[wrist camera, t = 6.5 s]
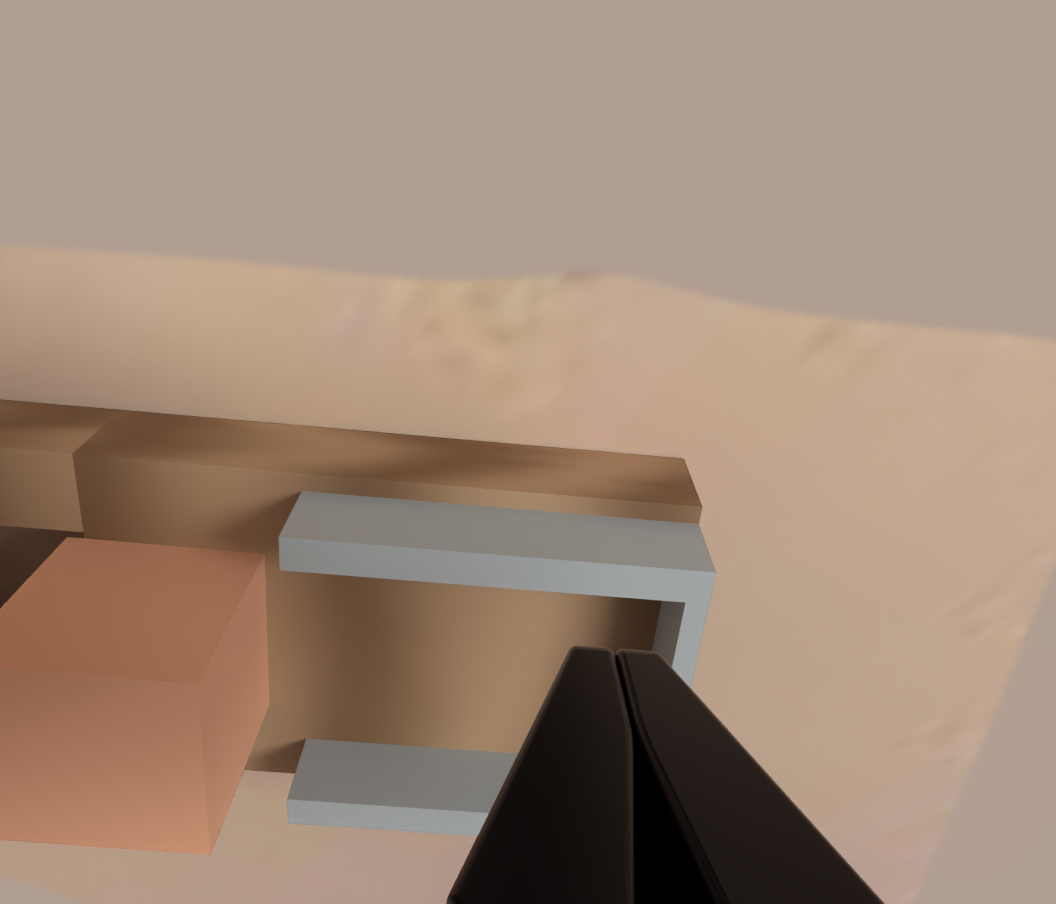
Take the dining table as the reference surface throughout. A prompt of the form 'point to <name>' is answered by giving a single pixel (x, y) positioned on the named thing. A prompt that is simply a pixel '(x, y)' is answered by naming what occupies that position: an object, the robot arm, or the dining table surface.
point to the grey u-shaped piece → (478, 560)
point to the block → (130, 694)
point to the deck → (338, 600)
